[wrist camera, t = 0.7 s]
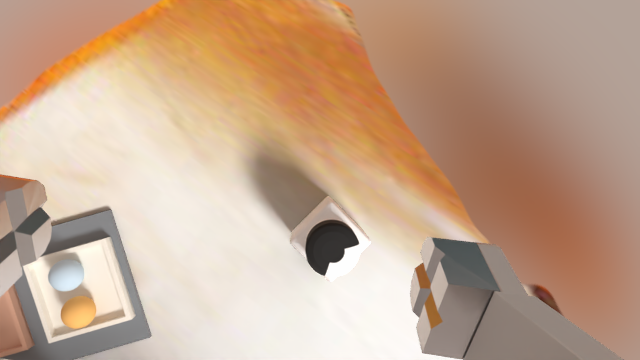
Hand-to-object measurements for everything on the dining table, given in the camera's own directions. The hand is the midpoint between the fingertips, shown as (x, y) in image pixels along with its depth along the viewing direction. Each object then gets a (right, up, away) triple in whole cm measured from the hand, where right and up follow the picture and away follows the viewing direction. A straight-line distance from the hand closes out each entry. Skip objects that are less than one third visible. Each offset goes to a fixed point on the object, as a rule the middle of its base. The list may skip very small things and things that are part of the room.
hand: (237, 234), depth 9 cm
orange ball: (-29, -16, +46) cm, 56 cm away
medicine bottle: (+3, -6, +49) cm, 49 cm away
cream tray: (-30, -13, +48) cm, 58 cm away
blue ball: (-31, -11, +45) cm, 56 cm away
